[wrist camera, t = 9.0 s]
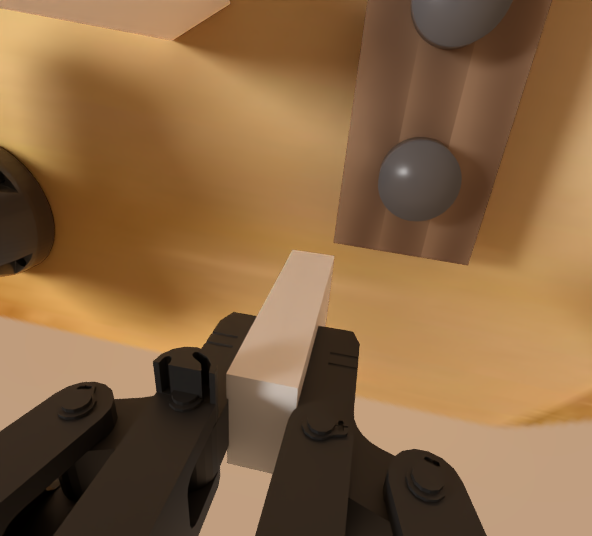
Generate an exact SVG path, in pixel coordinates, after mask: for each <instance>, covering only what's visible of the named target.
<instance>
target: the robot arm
mask: <svg viewBox="0 0 592 536" xmlns="http://www.w3.org/2000/svg"><path fill="white" fill-rule="evenodd" d="M53 241H54V222H53V217H52V213H51V209H50V206H49V204H48V201H47V199H46V197H45V195H44V193H43V191H42V189H41V187H40V186H39V184H38V183H37V181H36V180H35V178H34V177H33V176H32V174H31V173H30V172H29V171H28V170H27V168H26V167H25V166H24V165H23V164H22V163H21V162H20V161H19V160H17V159H16V158H15V157H14V156H13V155H11V154H10V153H9V152H7V151H6V150H4V149H3V148H1V147H0V277H3V276H9V275H15V274H18V273H21V272H24V271H26V270H27V269H29V268H31V267H33V266H35V265H37V264H39V263H41V262H42V261H43V260H44V259H45V258H46V257H47V256H48V254H49V252H50V250H51V248H52V245H53ZM333 264H334V256H332V255H325V254H319V253H312V252H305V251H298V250H292V251H291V253H290V255H289V257H288V259H287V261H286V263H285V265H284V266H283V268H282V270H281V272H280V274H279V276H278V278H277V280H276V281H275V283H274V285H273V287H272V289H271V291H270V293H269V295H268V296H267V298H266V300H265V302H264V304H263V306H262V308H261V310H260V311H259V313H258V315H257V316H253V315H247V314H241V313H236V312H233V313H231V314H230V315H228V316H227V317H225V318H224V319H222V320H220V322H219V323H218V325H217V326H216V328H215V329H214V331H213V334H211V335H210V337H209V338H208V340H207V342H206V343H205V344H204V346H203V347H202V349H200V348H197V347H182V348H176V349H172V350H170V351H168V352H165V353H163V354H161V355H160V356H159V357H158V358H157V359H155V360H154V361H153V366H154V374H155V383H156V391H157V392H156V394H155V395H154V396H151V397H144V398H129V399H114V396H113V392H112V390H111V389H110V388H109V387H107V386H106V385H105V384H101V383H97V382H82V383H78V384H75V385H72V386H68V387H66V388H64V389H62V390H61V391H59V392H57V393H55V394H54V395H52V396H51V397H49V398H48V399H47V400H45V401H44V402H42V403H41V404H39V405H38V406H36V407H35V408H34V409H32V410H31V411H29V412H28V413H26V414H25V415H23V416H22V417H20V418H19V419H18V420H16V421H15V422H13V423H12V424H10V425H9V426H8V427H6V428H5V429H3V430H2V431H1V432H0V536H198V535H199V533H200V530H201V528H202V525H203V522H204V520H205V518H206V515H207V513H208V510H209V508H210V505H211V503H212V500H213V498H214V495H215V493H216V490H217V488H218V484H219V479H220V465H221V462H222V460H223V458H224V455H225V453H226V451H227V463H230V464H233V465H238V466H242V467H247V468H250V469H255V470H259V471H263V472H267V473H272V474H273V475H272V478H271V482H270V486H269V489H268V492H267V496H266V499H265V503H264V507H263V510H262V514H261V517H260V521H259V524H258V528H257V531H256V535H255V536H487V535H486V533H485V531H484V529H483V527H482V525H481V522H480V520H479V518H478V515H477V513H476V511H475V509H474V506H473V504H472V502H471V500H470V497H469V495H468V493H467V491H466V488H465V486H464V484H463V482H462V481H461V479H460V477H459V476H458V474H457V473H456V471H455V470H454V468H452V467H451V466H450V465H449V464H448V463H447V462H446V461H444V460H443V459H442V458H440V457H438V456H436V455H434V454H432V453H430V452H427V451H423V450H417V449H412V450H406V451H402V452H400V453H399V454H397V455H396V456H394V455H392V454H390V453H388V452H386V451H384V450H382V449H380V448H378V447H377V446H375V445H374V444H372V443H371V442H369V441H368V440H367V439H366V438H365V437H364V436H363V435H362V434H361V432H360V431H359V429H358V428H357V425H356V423H355V420H354V402H355V391H356V380H357V368H358V357H359V346H360V344H359V342H358V340H357V338H356V336H355V334H354V332H351V331H346V330H340V329H334V328H328V327H325V324H326V319H327V311H328V303H329V296H330V288H331V280H332V272H333Z"/></svg>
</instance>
